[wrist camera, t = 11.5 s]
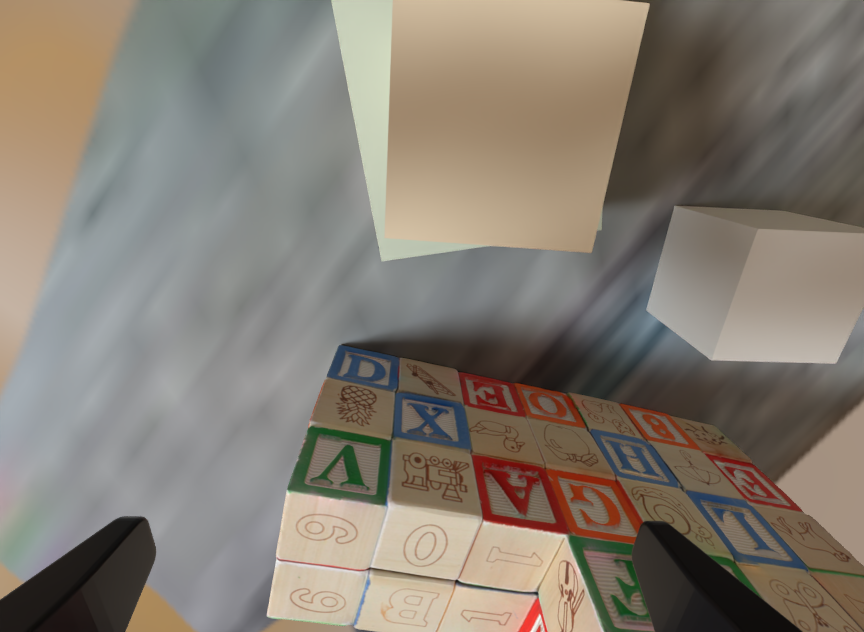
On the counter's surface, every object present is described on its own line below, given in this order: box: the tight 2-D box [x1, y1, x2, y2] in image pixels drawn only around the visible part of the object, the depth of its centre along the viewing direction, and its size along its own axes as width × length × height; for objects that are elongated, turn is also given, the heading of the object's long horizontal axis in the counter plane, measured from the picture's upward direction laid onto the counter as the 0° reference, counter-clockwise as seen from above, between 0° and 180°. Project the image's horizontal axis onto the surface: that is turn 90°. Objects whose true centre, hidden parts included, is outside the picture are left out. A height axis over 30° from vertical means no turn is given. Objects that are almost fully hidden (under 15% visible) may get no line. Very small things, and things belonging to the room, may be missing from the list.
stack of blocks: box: [267, 345, 864, 632], centre depth 18 cm, size 21×6×12 cm, turn 75°
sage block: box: [331, 0, 602, 261], centre depth 15 cm, size 8×8×4 cm
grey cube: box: [646, 206, 864, 364], centre depth 17 cm, size 5×5×5 cm
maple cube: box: [384, 0, 650, 253], centre depth 11 cm, size 5×5×5 cm
